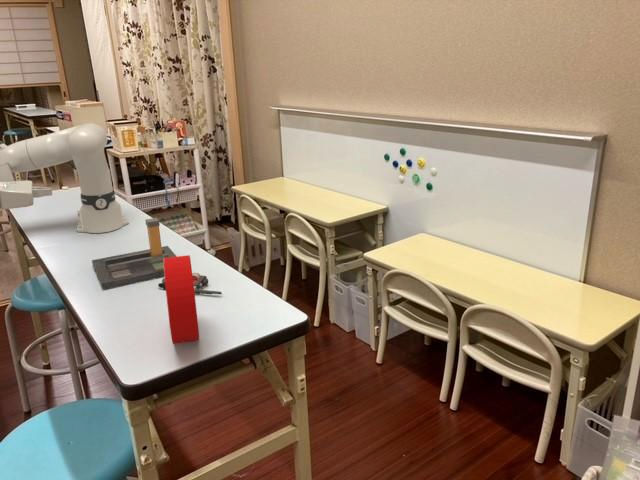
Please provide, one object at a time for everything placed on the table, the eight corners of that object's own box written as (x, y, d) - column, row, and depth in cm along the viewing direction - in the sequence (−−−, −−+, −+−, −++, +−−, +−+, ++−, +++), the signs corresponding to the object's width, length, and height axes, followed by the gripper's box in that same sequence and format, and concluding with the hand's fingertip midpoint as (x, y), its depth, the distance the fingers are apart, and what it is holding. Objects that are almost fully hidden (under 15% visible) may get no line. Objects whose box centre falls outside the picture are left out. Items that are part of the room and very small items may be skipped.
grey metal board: (92, 266, 161) (90, 254, 160) (168, 251, 173) (166, 240, 171) (103, 289, 145) (100, 277, 144) (185, 271, 156) (184, 260, 155)
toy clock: (201, 356, 113) (192, 275, 106) (174, 361, 112) (163, 279, 105) (195, 314, 131) (188, 243, 124) (172, 318, 130) (163, 245, 123)
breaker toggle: (150, 257, 161) (145, 219, 157) (161, 255, 163) (156, 217, 159) (153, 261, 159) (147, 222, 154) (163, 258, 160) (159, 220, 156)
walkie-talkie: (154, 293, 144) (220, 299, 140) (152, 279, 142) (219, 285, 138) (169, 280, 152) (232, 286, 148) (167, 266, 150) (231, 272, 146)
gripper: (-3, 198, 144) (52, 195, 150) (-8, 213, 126) (54, 210, 133) (-6, 176, 142) (49, 174, 148) (-12, 188, 125) (52, 186, 131)
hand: (52, 191), depth 140 cm, fingers closed
